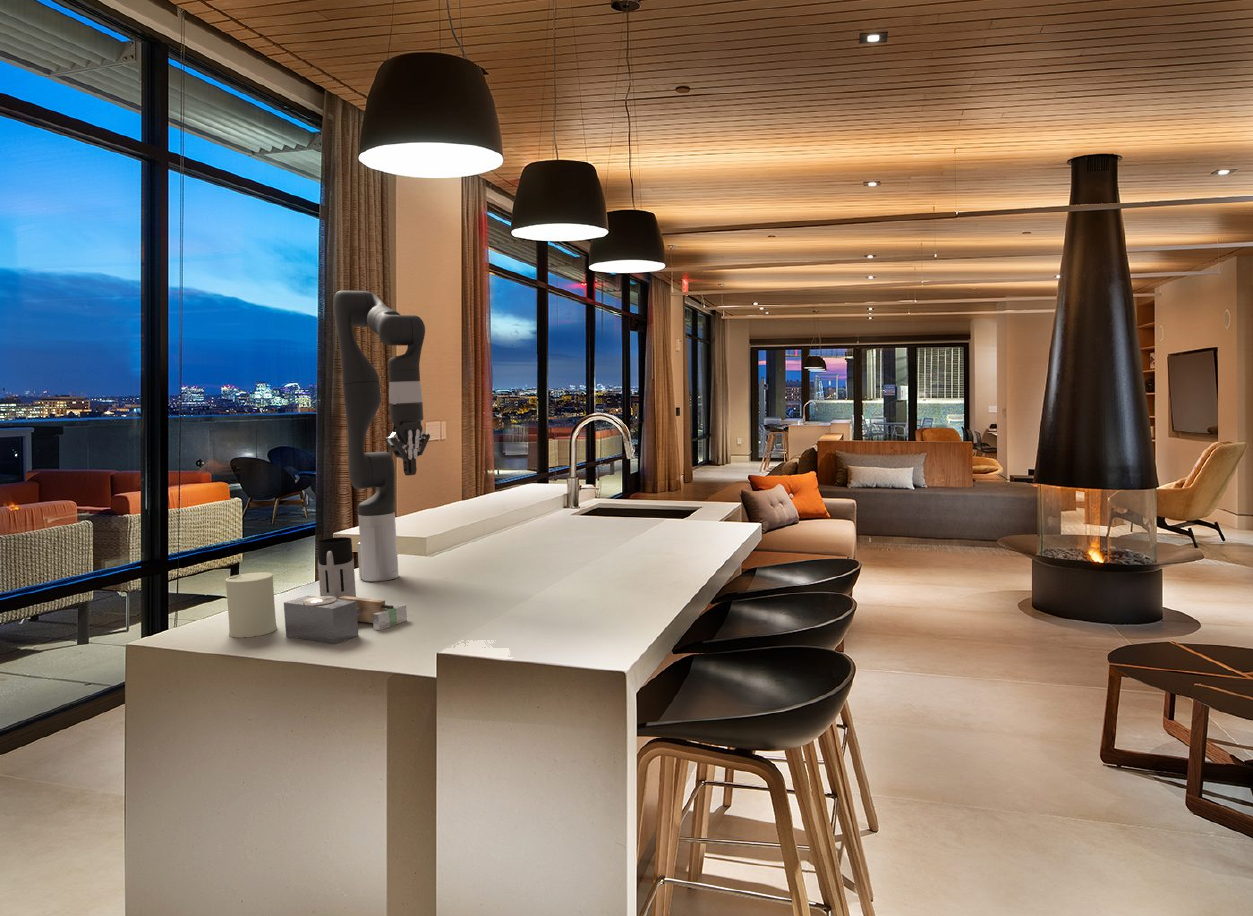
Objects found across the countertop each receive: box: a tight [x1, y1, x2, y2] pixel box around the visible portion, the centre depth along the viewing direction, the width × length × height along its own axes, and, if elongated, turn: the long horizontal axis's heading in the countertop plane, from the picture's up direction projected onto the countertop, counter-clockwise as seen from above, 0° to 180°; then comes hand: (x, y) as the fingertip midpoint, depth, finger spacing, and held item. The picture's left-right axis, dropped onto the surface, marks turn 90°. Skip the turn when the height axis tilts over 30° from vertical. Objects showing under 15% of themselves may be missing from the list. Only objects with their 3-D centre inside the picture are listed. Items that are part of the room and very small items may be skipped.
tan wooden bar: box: [338, 596, 394, 624], centre depth 179 cm, size 15×6×5 cm, turn 61°
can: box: [224, 571, 278, 639], centre depth 178 cm, size 9×9×12 cm
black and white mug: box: [317, 536, 357, 599], centre depth 196 cm, size 9×14×15 cm, turn 10°
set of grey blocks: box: [283, 595, 408, 645], centre depth 177 cm, size 15×19×7 cm
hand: (410, 475), depth 201 cm, fingers closed
